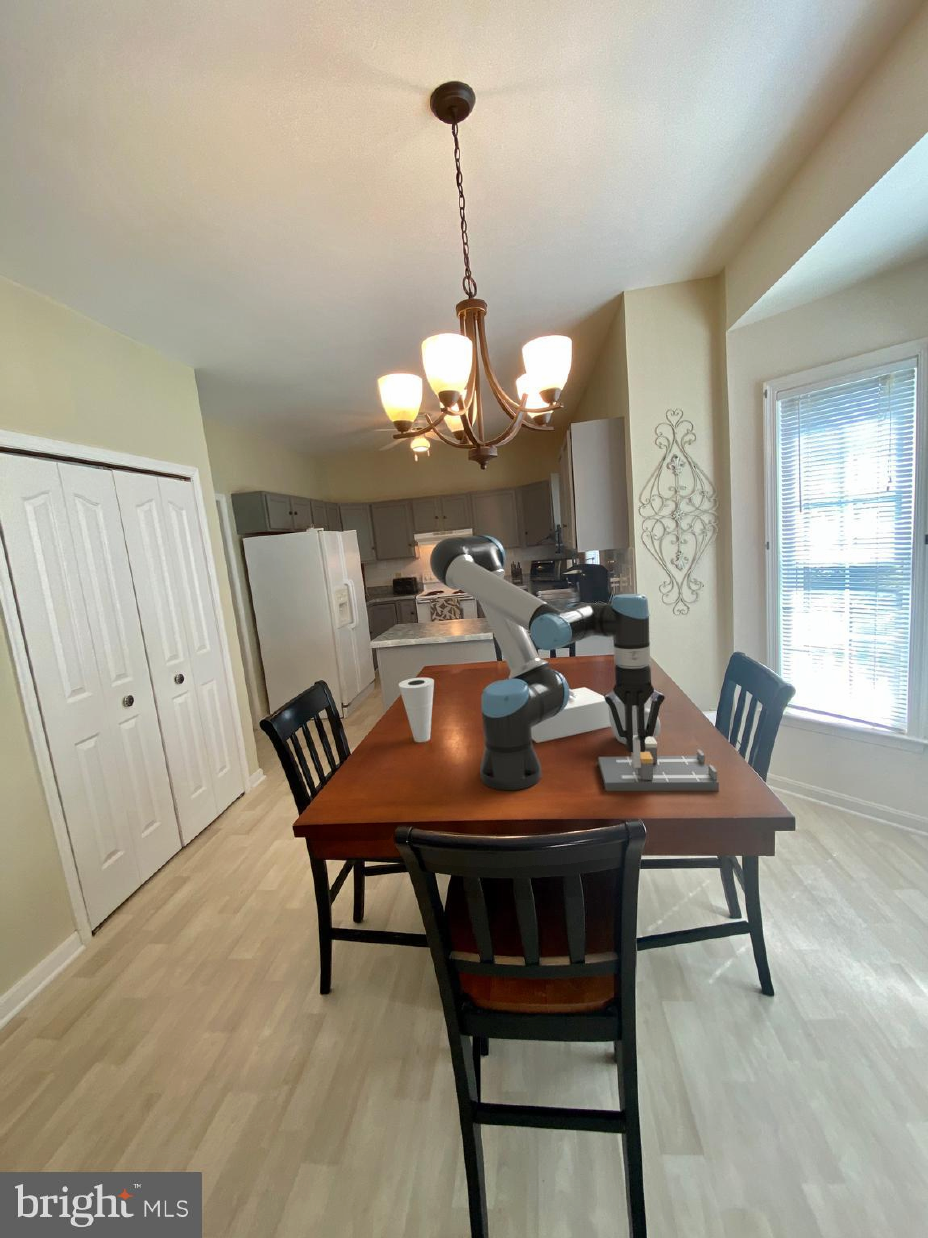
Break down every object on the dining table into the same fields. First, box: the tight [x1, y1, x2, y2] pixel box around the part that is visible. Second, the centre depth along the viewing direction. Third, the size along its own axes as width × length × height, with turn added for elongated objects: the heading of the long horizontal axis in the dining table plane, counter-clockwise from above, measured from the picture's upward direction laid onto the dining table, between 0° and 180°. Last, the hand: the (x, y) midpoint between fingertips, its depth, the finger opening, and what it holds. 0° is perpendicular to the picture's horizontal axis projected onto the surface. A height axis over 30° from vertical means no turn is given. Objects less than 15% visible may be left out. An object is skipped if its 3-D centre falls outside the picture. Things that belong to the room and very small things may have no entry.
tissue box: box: [531, 687, 612, 743], centre depth 147 cm, size 14×25×11 cm, turn 108°
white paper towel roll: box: [398, 677, 435, 743], centre depth 146 cm, size 11×11×18 cm
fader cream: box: [645, 737, 659, 763], centre depth 117 cm, size 3×4×5 cm
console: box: [598, 749, 720, 792], centre depth 113 cm, size 24×13×4 cm, turn 81°
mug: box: [608, 696, 662, 745], centre depth 131 cm, size 15×11×13 cm
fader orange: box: [639, 752, 653, 780], centre depth 109 cm, size 3×4×5 cm
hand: (636, 764), depth 109 cm, fingers closed
